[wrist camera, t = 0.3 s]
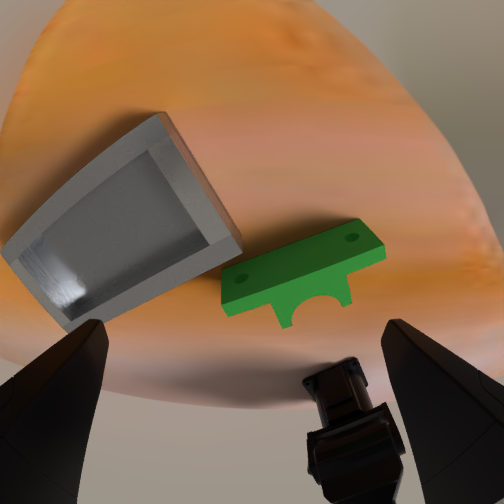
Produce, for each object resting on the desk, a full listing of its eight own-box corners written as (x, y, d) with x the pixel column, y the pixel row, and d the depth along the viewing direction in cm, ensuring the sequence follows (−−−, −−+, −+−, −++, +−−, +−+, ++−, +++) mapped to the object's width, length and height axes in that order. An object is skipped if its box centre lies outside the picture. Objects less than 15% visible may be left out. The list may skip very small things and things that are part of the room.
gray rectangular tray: (241, 234, 21) (242, 253, 19) (83, 318, 24) (73, 338, 22) (165, 111, 17) (156, 113, 14) (16, 236, 20) (-1, 251, 17)
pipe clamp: (240, 303, 25) (242, 342, 21) (221, 267, 23) (220, 305, 19) (367, 256, 23) (390, 289, 19) (359, 217, 22) (385, 245, 18)
